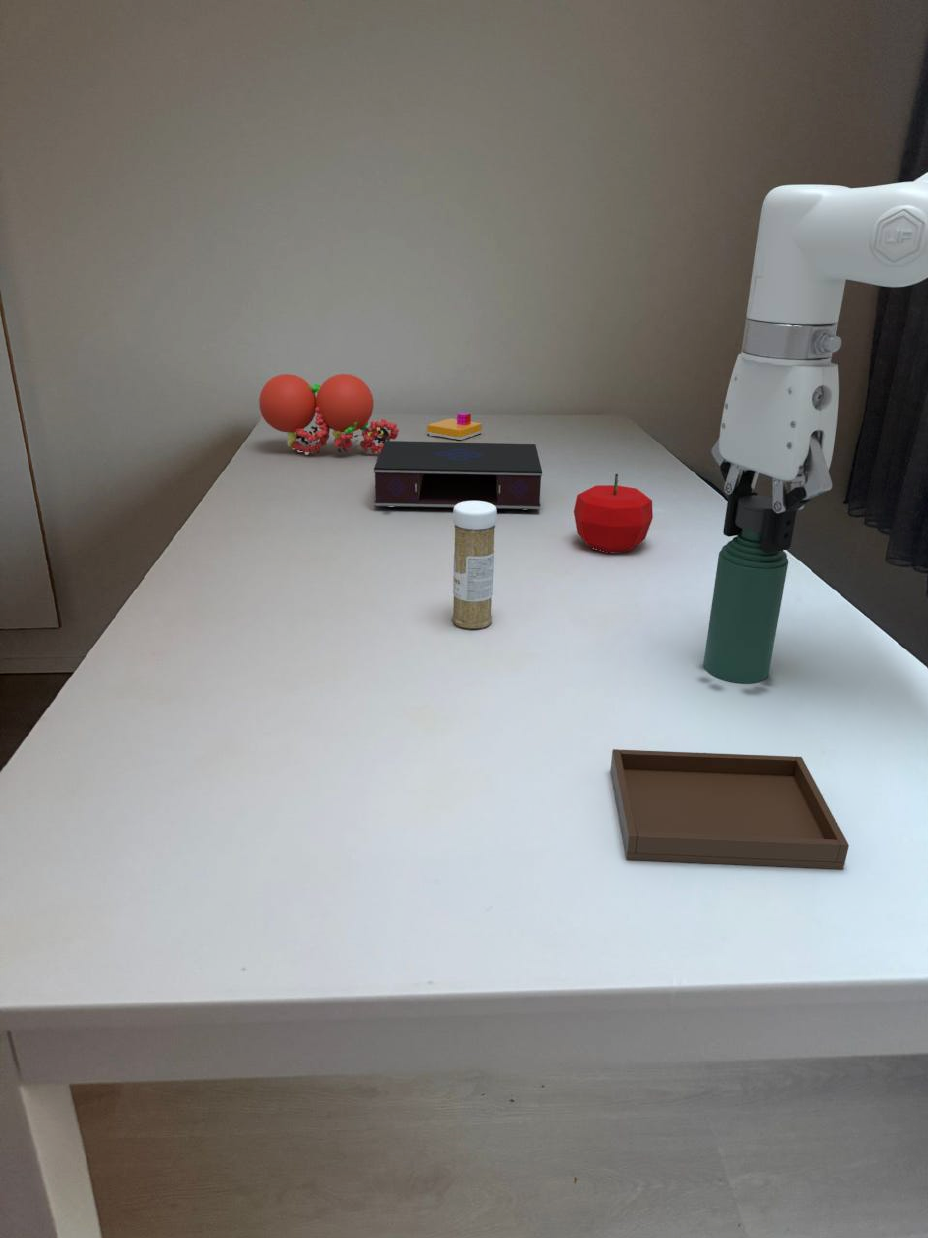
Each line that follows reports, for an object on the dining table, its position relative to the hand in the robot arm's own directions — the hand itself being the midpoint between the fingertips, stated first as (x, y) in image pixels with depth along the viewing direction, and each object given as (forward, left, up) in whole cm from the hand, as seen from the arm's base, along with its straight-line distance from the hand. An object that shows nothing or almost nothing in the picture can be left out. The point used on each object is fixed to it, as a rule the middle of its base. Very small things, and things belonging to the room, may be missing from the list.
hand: (756, 540), depth 86 cm
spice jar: (+27, -9, -14) cm, 32 cm away
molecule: (+56, -82, -14) cm, 100 cm away
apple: (+9, -36, -14) cm, 40 cm away
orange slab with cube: (+34, -100, -14) cm, 106 cm away
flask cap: (0, 0, +3) cm, 3 cm away
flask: (0, 0, -14) cm, 14 cm away
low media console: (+31, -57, -14) cm, 66 cm away
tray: (+7, +25, -14) cm, 29 cm away
